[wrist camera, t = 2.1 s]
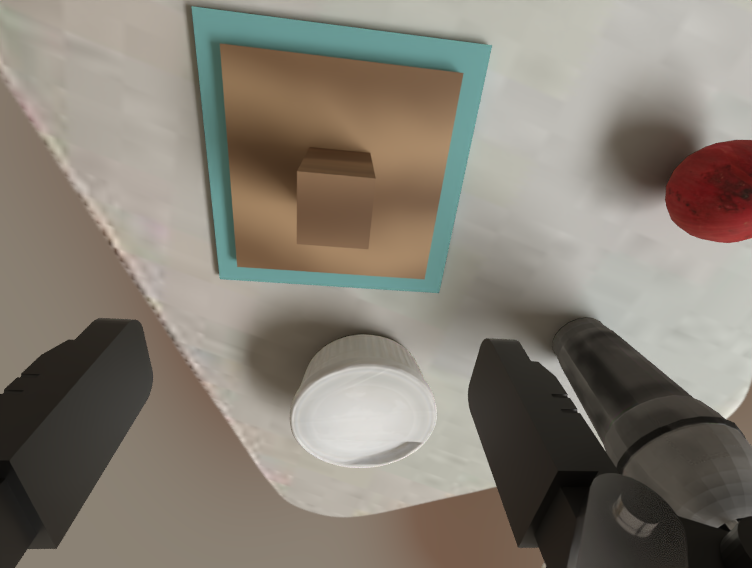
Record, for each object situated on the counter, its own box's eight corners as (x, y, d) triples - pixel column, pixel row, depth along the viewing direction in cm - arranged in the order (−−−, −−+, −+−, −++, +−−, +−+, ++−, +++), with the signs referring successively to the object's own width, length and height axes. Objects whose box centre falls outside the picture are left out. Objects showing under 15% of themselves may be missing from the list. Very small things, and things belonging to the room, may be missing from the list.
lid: (224, 44, 21) (173, 35, 15) (460, 72, 22) (499, 75, 16) (240, 261, 27) (208, 316, 21) (422, 274, 28) (441, 329, 22)
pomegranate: (619, 190, 27) (714, 234, 20) (690, 112, 24) (827, 132, 17) (671, 231, 28) (775, 285, 21) (742, 162, 26) (885, 198, 19)
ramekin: (337, 434, 37) (335, 486, 33) (271, 354, 32) (257, 403, 27) (445, 392, 35) (459, 441, 31) (393, 300, 30) (401, 342, 25)
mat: (194, 7, 20) (191, 6, 20) (489, 45, 22) (492, 45, 21) (221, 275, 28) (219, 279, 28) (437, 289, 30) (438, 293, 29)
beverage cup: (556, 384, 35) (754, 694, 18) (521, 334, 32) (719, 650, 15) (634, 344, 33) (939, 646, 16) (604, 287, 30) (942, 585, 13)
